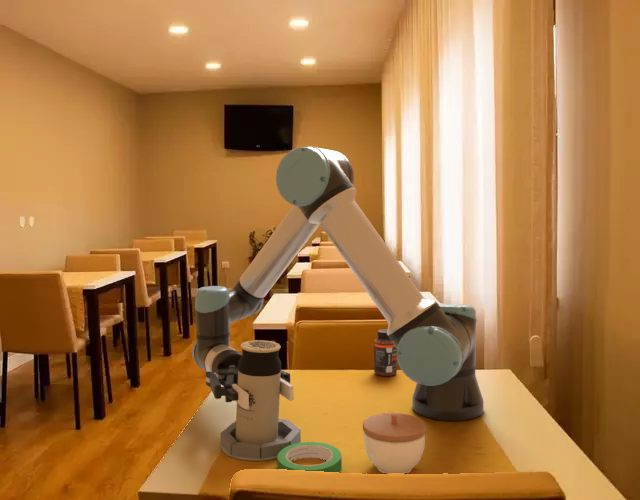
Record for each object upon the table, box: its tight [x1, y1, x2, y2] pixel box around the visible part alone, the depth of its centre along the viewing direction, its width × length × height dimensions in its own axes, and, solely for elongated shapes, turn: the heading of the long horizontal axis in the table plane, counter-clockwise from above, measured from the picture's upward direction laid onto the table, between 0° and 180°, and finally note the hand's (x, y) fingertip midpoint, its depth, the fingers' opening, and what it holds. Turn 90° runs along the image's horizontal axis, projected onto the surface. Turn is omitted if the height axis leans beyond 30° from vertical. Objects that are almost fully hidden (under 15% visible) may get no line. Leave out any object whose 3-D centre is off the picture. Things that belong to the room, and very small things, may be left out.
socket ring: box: [220, 418, 302, 462], centre depth 116 cm, size 15×15×2 cm
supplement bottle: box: [373, 328, 398, 377], centre depth 159 cm, size 6×6×11 cm
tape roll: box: [276, 441, 343, 473], centre depth 106 cm, size 11×11×3 cm
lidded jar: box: [362, 412, 427, 474], centre depth 105 cm, size 11×11×9 cm
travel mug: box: [235, 339, 282, 444], centre depth 115 cm, size 8×8×18 cm
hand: (269, 397), depth 111 cm, fingers closed on travel mug, 8 cm apart
